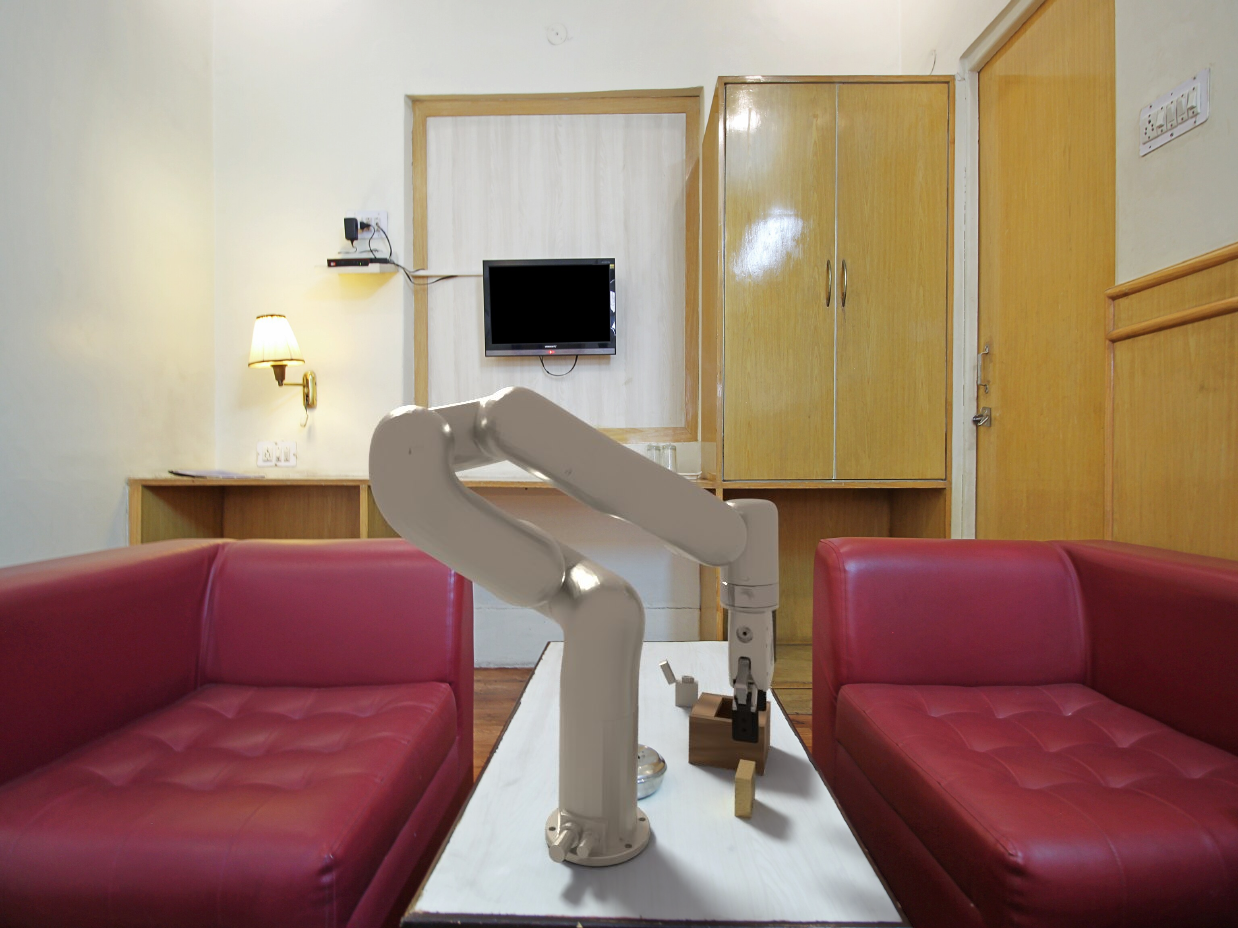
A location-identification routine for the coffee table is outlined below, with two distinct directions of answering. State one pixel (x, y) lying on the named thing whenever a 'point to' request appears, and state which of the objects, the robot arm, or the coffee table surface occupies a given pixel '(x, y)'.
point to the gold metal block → (744, 789)
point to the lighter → (681, 687)
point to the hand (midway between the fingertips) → (750, 724)
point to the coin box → (724, 735)
